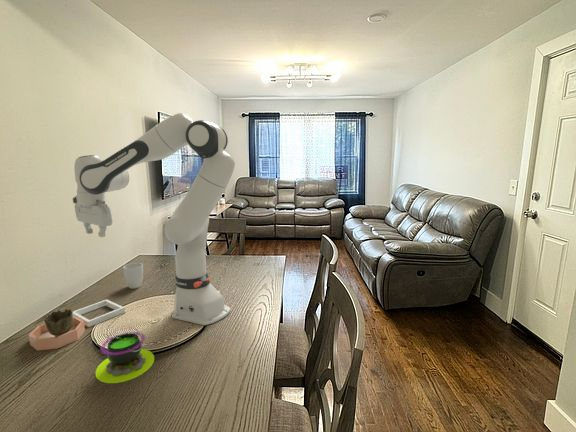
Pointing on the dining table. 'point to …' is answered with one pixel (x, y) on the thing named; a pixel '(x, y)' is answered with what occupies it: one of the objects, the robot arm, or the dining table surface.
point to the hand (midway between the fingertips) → (95, 235)
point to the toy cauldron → (124, 358)
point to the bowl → (46, 341)
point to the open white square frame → (89, 323)
